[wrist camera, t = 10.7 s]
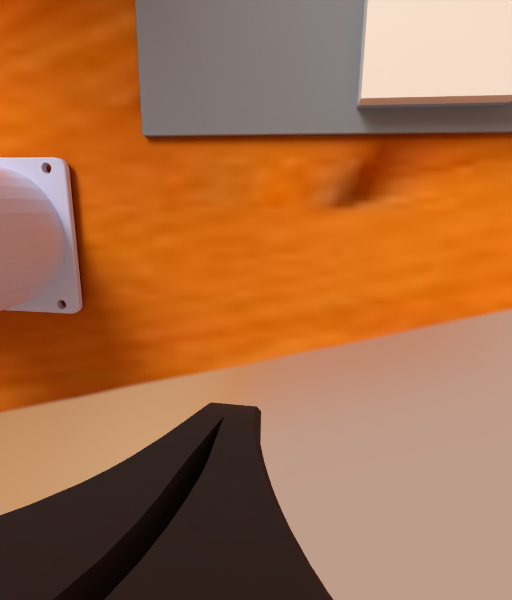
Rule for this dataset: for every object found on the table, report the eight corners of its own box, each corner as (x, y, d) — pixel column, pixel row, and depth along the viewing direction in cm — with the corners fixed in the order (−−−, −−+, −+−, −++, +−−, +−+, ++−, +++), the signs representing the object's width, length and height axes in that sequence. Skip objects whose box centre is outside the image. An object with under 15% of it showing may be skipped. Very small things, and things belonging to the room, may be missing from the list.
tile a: (360, 98, 15) (524, 94, 14) (373, -85, 14) (555, -100, 13) (356, 108, 17) (503, 105, 16) (367, -56, 15) (529, -68, 15)
